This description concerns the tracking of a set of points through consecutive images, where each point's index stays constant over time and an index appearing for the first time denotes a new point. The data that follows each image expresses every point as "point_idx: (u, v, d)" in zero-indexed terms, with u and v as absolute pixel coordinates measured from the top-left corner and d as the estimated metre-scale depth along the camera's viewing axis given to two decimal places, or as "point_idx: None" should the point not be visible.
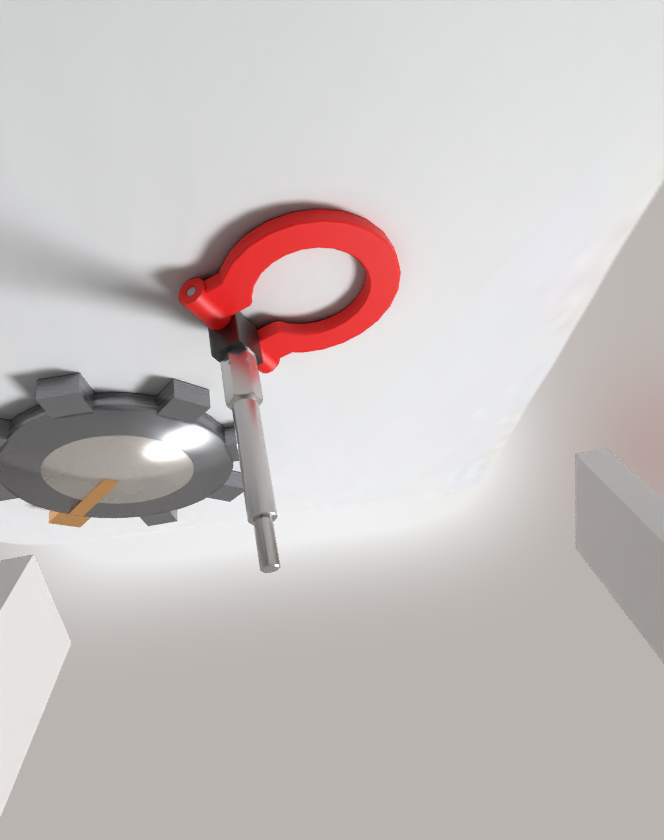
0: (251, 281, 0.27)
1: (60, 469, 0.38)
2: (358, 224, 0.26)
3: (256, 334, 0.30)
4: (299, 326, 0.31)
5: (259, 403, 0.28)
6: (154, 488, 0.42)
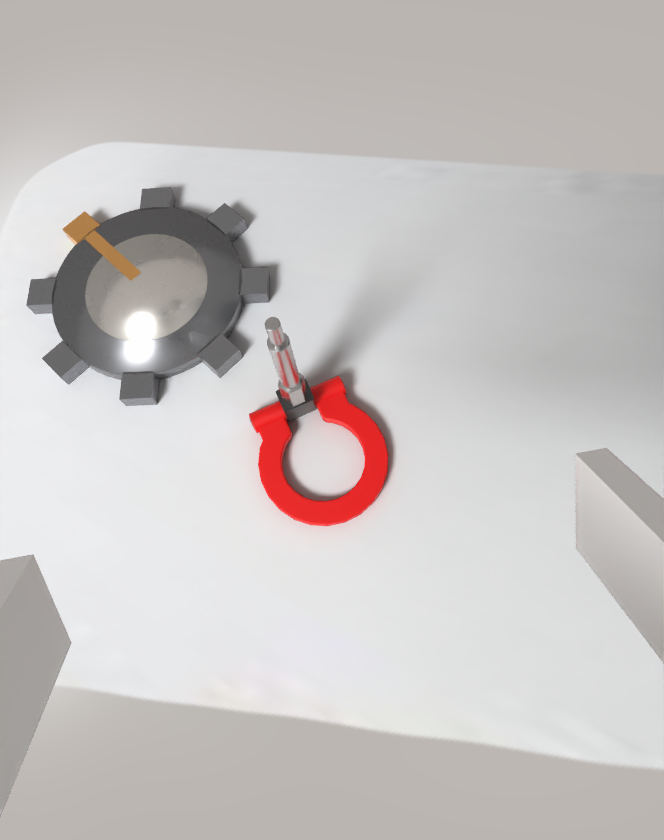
0: (346, 421, 0.41)
1: (170, 249, 0.46)
2: (377, 494, 0.40)
3: (291, 417, 0.42)
4: (283, 450, 0.41)
5: (289, 390, 0.38)
6: (105, 303, 0.45)
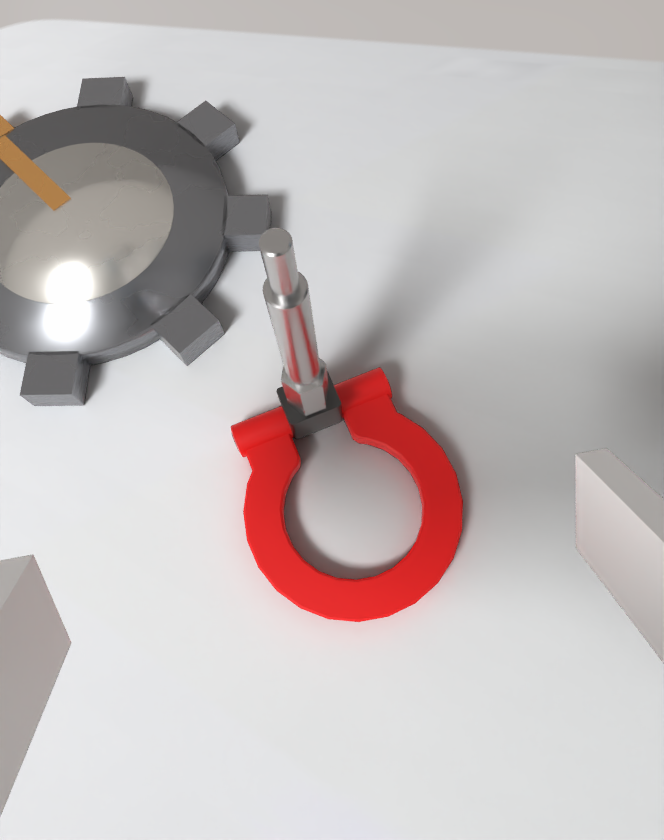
0: (392, 443, 0.25)
1: (119, 165, 0.30)
2: (445, 570, 0.23)
3: (301, 434, 0.25)
4: (287, 489, 0.25)
5: (300, 387, 0.21)
6: (11, 243, 0.29)
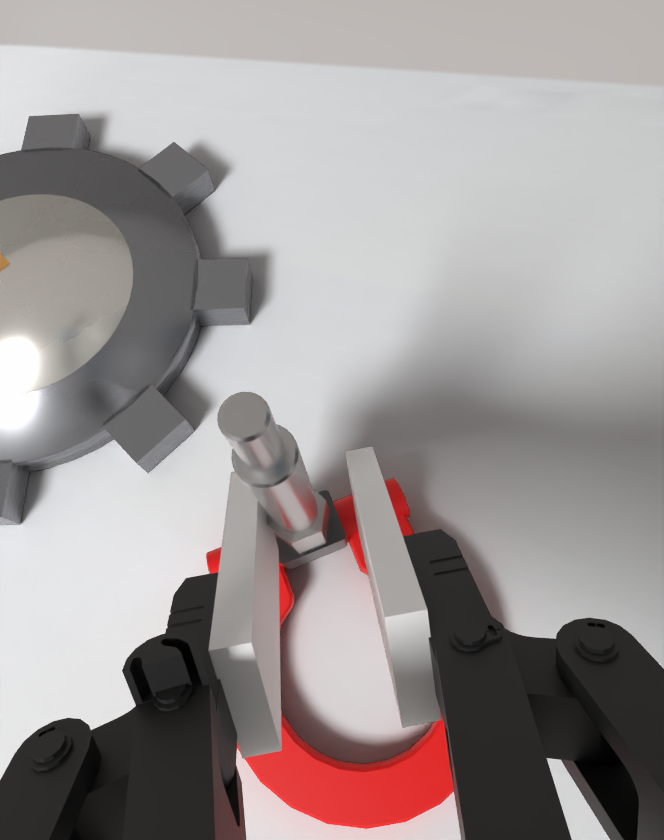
0: None
1: (69, 222, 0.25)
2: None
3: (295, 566, 0.20)
4: None
5: (291, 535, 0.16)
6: None
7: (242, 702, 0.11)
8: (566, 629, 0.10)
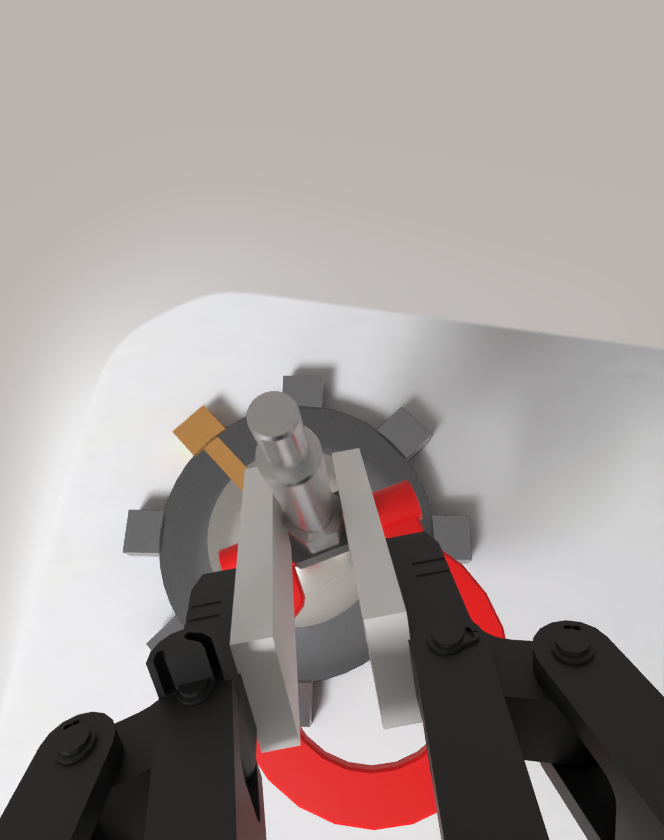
0: None
1: (328, 476, 0.33)
2: None
3: (307, 565, 0.20)
4: None
5: (307, 535, 0.16)
6: None
7: (262, 697, 0.11)
8: (543, 632, 0.10)
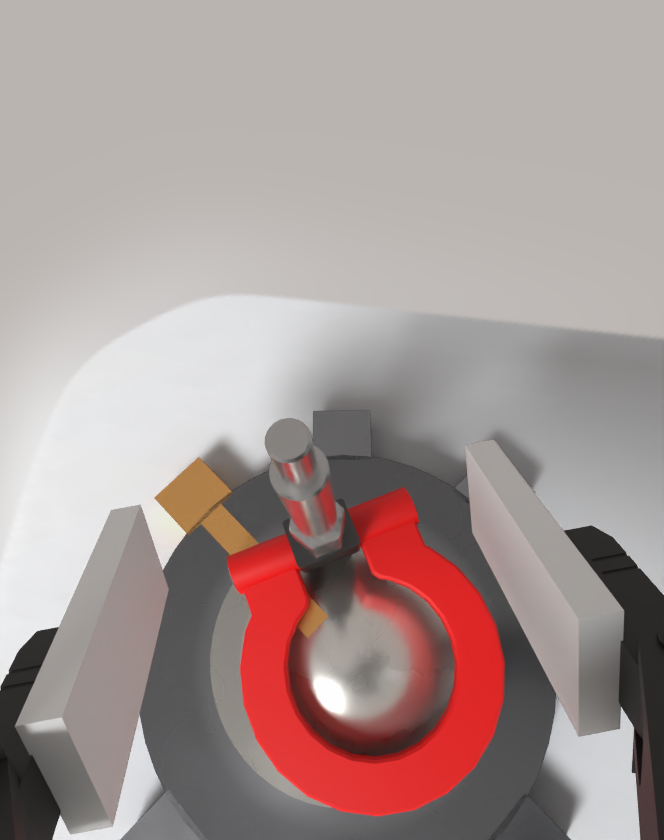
0: (419, 584, 0.21)
1: None
2: (484, 750, 0.19)
3: (311, 569, 0.21)
4: (292, 636, 0.21)
5: (312, 541, 0.17)
6: None
7: (61, 778, 0.10)
8: None
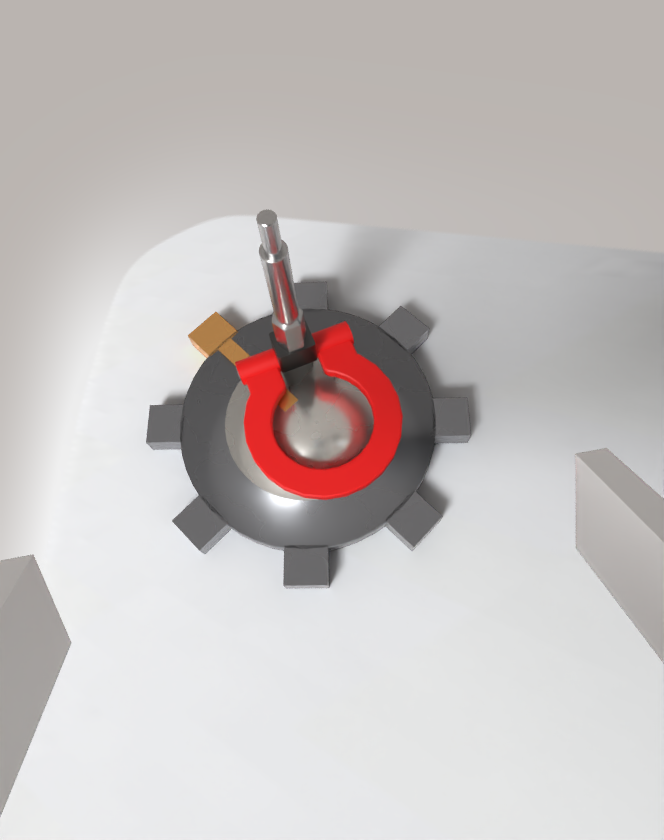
0: (352, 374, 0.34)
1: None
2: (388, 462, 0.32)
3: (287, 368, 0.34)
4: (275, 407, 0.34)
5: (284, 326, 0.30)
6: None
7: None
8: None
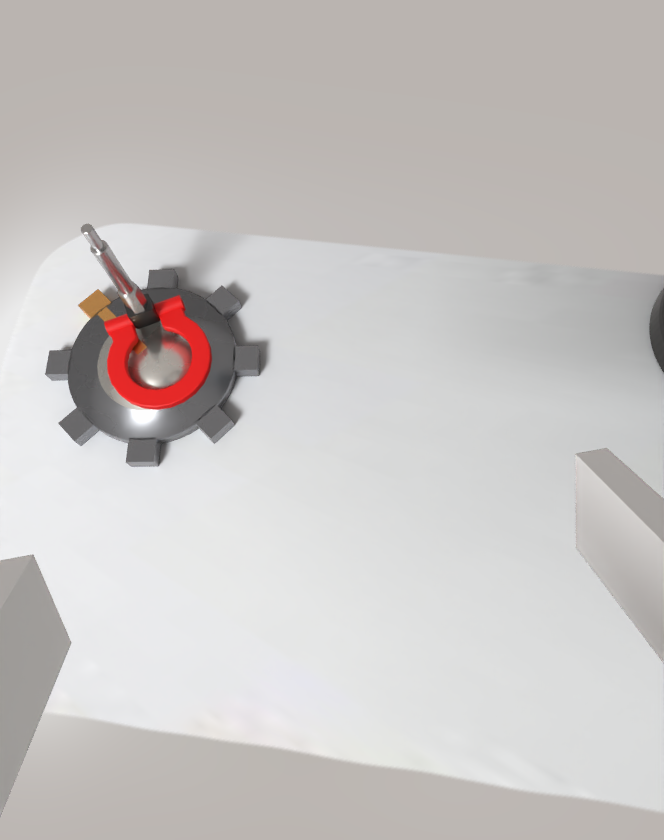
0: (180, 329, 0.51)
1: None
2: (198, 385, 0.50)
3: (138, 325, 0.52)
4: (130, 351, 0.52)
5: (124, 295, 0.48)
6: None
7: None
8: None
